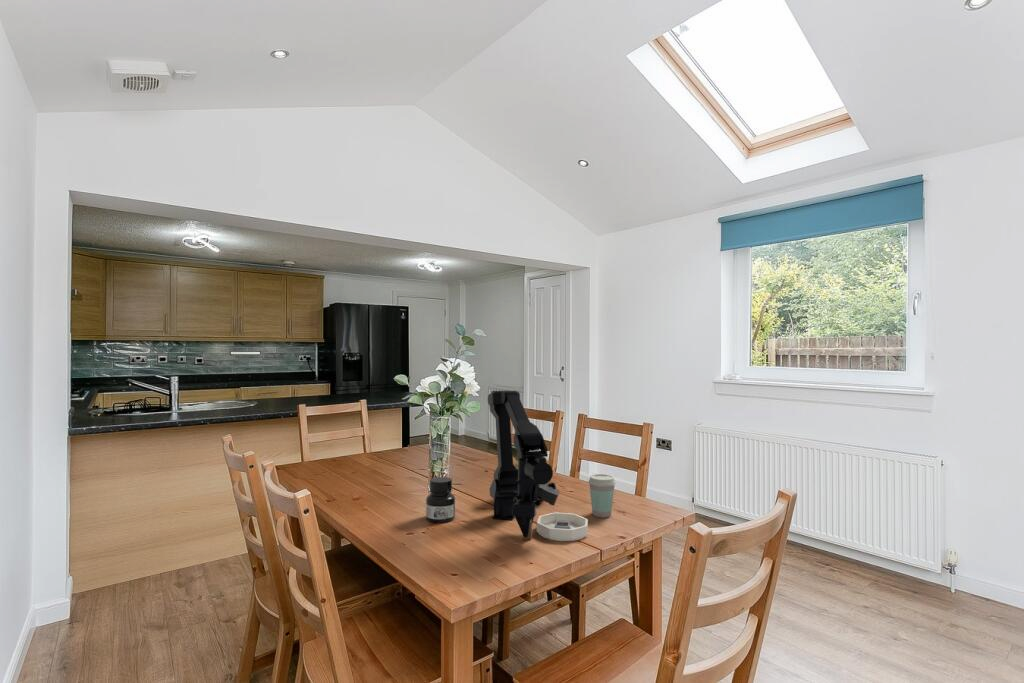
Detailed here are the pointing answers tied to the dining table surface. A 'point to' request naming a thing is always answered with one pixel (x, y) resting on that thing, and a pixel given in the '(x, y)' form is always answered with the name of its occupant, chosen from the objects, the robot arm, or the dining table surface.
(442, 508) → the ink bottle
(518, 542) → the dining table surface
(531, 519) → the tall wooden post
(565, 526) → the octagonal white tray
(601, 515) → the coffee cup
